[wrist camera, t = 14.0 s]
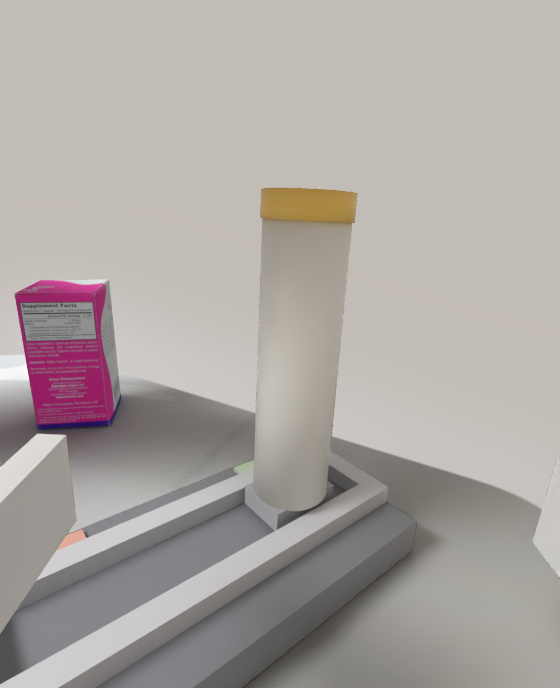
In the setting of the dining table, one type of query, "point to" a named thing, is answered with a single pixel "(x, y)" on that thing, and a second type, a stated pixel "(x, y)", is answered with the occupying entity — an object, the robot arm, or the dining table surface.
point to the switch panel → (199, 586)
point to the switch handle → (298, 347)
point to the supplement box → (70, 352)
